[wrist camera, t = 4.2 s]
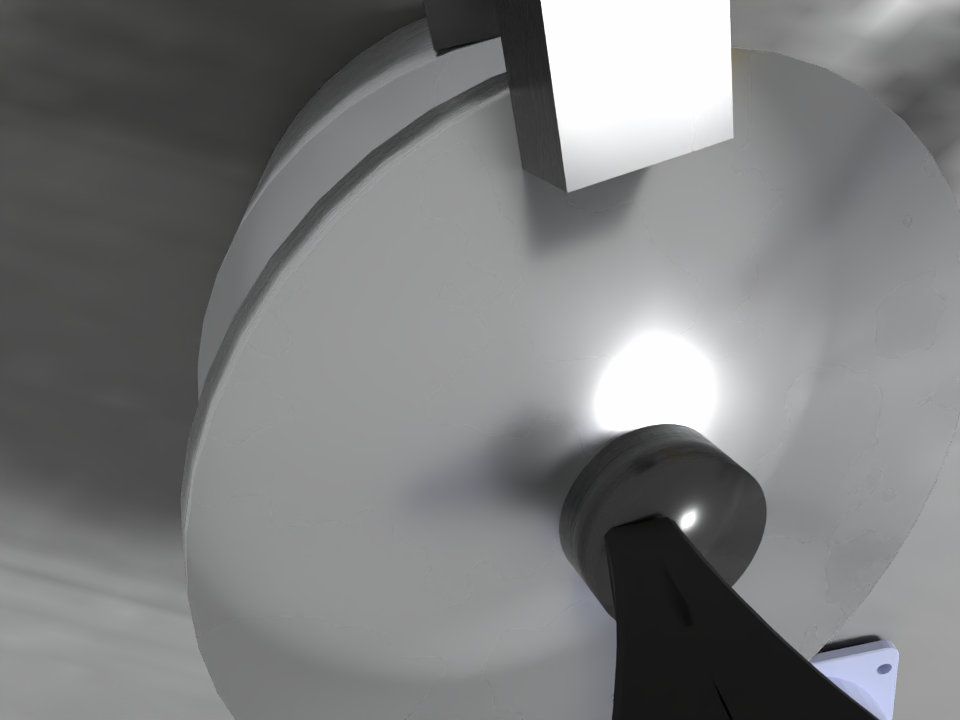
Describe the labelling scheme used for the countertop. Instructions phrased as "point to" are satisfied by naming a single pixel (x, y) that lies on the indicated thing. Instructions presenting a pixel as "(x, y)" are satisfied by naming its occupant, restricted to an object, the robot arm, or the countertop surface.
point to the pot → (351, 136)
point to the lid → (573, 374)
